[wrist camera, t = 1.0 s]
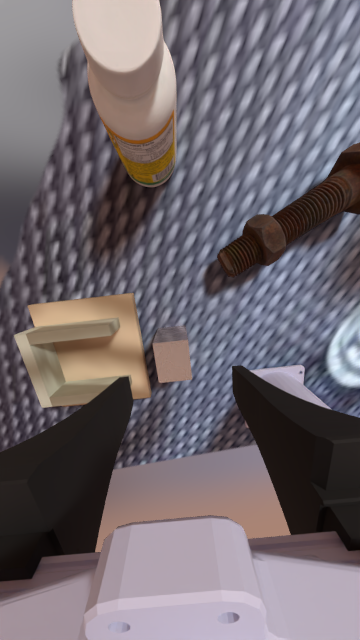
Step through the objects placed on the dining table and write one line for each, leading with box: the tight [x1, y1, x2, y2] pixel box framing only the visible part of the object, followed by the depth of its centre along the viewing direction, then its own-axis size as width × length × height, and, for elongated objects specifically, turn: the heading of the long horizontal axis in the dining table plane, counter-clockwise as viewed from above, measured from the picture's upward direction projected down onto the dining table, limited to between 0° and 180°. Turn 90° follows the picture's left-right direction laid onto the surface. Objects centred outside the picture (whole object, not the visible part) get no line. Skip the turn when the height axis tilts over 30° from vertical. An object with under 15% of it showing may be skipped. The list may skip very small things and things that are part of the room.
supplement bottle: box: [72, 0, 176, 187], centre depth 12 cm, size 5×5×10 cm
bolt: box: [217, 143, 360, 278], centre depth 17 cm, size 6×5×15 cm
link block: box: [153, 325, 192, 383], centre depth 20 cm, size 4×4×5 cm
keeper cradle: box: [14, 293, 152, 408], centre depth 20 cm, size 14×12×4 cm
